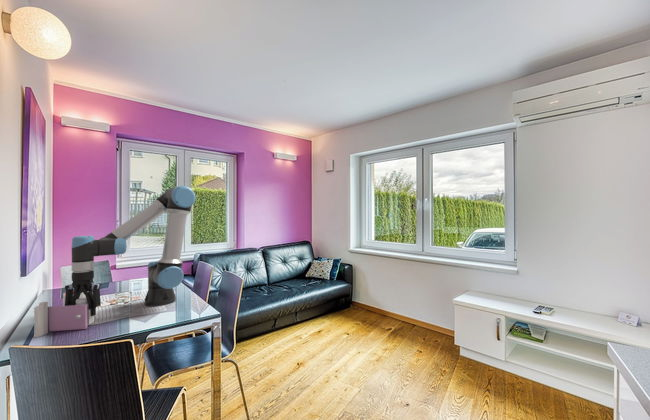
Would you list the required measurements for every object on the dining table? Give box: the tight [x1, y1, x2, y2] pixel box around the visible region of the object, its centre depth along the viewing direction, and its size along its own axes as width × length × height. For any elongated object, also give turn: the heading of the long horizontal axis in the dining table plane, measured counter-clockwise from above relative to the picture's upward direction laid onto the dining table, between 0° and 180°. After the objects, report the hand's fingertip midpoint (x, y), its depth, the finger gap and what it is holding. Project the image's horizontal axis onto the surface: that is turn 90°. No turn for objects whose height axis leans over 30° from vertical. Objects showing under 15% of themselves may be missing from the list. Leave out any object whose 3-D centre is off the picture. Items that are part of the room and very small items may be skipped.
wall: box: [33, 292, 86, 338], centre depth 126 cm, size 2×25×13 cm, turn 2°
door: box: [48, 305, 88, 333], centre depth 120 cm, size 3×15×10 cm, turn 100°
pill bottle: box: [76, 298, 89, 325], centre depth 125 cm, size 6×6×11 cm
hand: (82, 323), depth 125 cm, fingers closed on pill bottle, 6 cm apart
